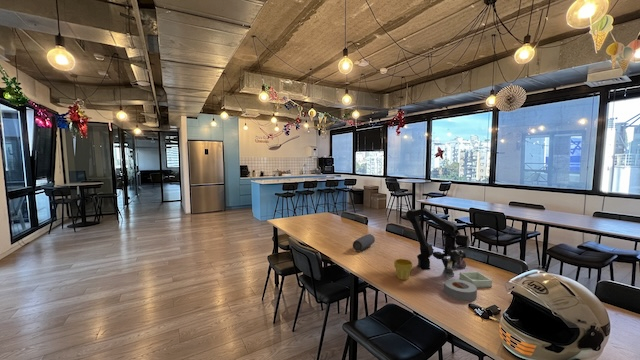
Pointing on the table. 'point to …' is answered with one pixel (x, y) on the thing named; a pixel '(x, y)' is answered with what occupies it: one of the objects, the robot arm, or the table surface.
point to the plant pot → (403, 268)
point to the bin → (476, 279)
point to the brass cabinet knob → (449, 266)
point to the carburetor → (460, 263)
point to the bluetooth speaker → (363, 242)
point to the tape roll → (460, 290)
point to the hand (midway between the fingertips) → (448, 268)
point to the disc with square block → (448, 274)
